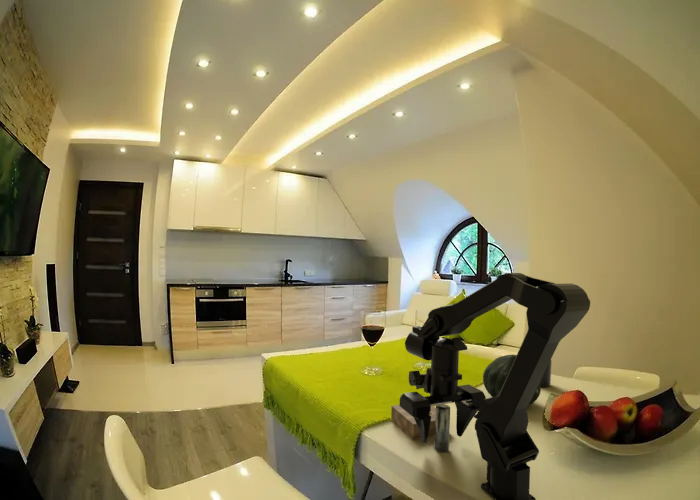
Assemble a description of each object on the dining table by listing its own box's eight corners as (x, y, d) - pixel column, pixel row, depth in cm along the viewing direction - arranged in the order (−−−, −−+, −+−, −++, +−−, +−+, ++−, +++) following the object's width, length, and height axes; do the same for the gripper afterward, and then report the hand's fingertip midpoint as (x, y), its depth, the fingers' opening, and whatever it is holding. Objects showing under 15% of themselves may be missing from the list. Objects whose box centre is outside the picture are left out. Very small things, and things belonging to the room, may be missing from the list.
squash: (499, 369, 115) (489, 339, 107) (550, 384, 104) (542, 352, 97) (483, 407, 107) (470, 377, 100) (536, 427, 97) (526, 396, 89)
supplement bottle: (529, 386, 115) (530, 349, 115) (525, 379, 122) (526, 344, 122) (553, 389, 113) (554, 351, 113) (547, 382, 120) (549, 346, 120)
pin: (451, 451, 75) (453, 408, 75) (440, 453, 74) (441, 410, 74) (442, 443, 78) (444, 403, 78) (431, 446, 77) (433, 404, 77)
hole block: (449, 432, 83) (449, 417, 83) (412, 440, 79) (413, 424, 79) (424, 414, 92) (425, 400, 92) (391, 419, 88) (391, 405, 88)
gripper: (454, 353, 87) (452, 416, 87) (388, 359, 80) (385, 428, 80) (488, 367, 77) (486, 439, 77) (415, 375, 70) (412, 455, 70)
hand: (441, 439), depth 76 cm, fingers open, 9 cm apart
